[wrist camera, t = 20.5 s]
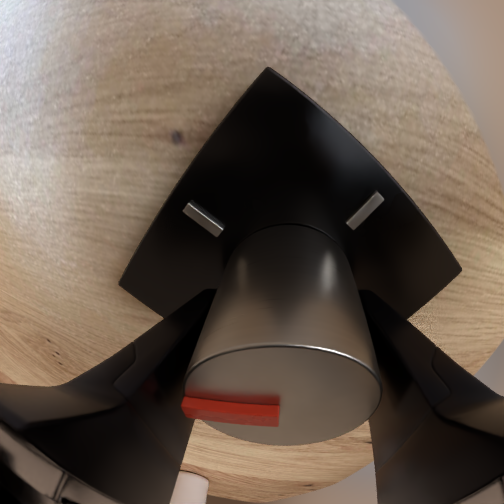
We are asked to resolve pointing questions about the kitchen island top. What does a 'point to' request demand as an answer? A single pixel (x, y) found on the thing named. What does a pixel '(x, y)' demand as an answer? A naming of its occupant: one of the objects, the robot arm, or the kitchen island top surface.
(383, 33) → the kitchen island top surface
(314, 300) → the hob knob
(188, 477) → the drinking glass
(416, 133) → the kitchen island top surface
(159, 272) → the hob panel
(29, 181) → the kitchen island top surface
